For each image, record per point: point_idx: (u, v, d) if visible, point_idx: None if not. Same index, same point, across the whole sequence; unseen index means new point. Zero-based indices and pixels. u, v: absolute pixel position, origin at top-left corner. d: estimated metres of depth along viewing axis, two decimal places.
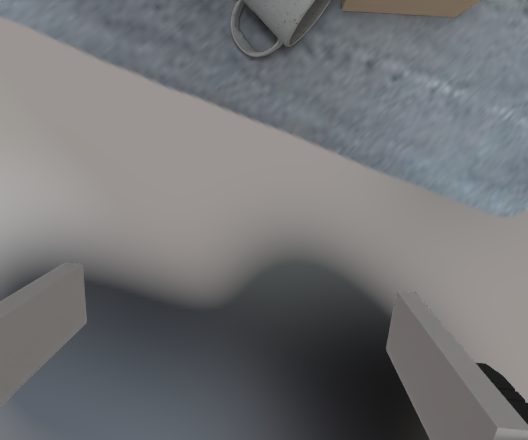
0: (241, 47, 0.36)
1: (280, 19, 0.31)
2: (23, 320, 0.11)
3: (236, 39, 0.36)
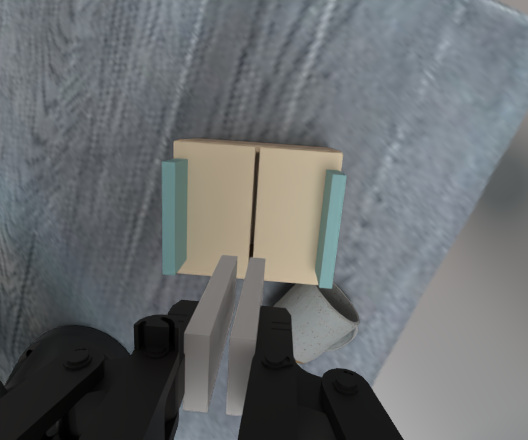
0: (348, 342, 0.41)
1: (347, 333, 0.35)
2: (225, 301, 0.13)
3: (341, 345, 0.41)
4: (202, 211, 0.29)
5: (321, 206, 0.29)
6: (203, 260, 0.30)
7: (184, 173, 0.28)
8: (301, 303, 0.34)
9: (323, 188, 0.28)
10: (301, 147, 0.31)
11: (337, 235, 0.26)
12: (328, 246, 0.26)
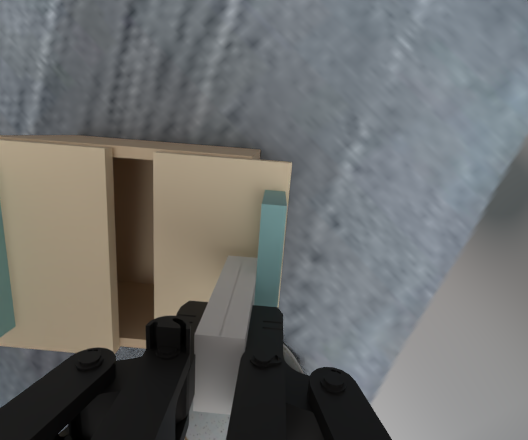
0: None
1: None
2: None
3: None
4: (30, 252, 0.18)
5: None
6: (41, 328, 0.19)
7: None
8: None
9: None
10: (200, 149, 0.20)
11: None
12: None
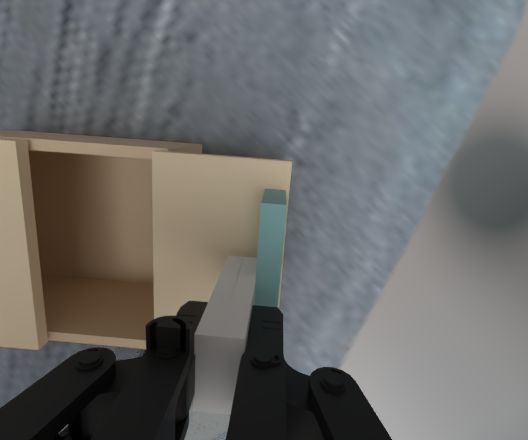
0: None
1: None
2: None
3: None
4: None
5: None
6: None
7: None
8: None
9: None
10: (126, 142, 0.20)
11: None
12: None
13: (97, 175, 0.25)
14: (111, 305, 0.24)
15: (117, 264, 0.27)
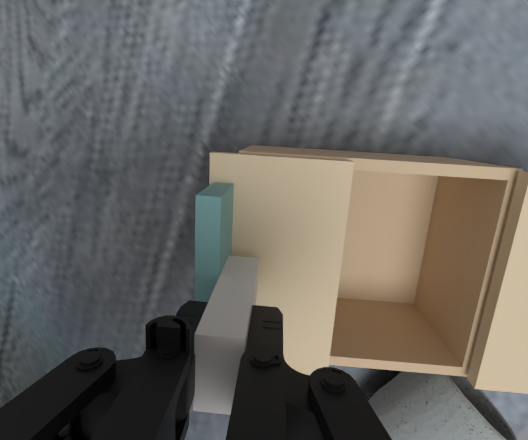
0: None
1: None
2: None
3: None
4: None
5: None
6: None
7: (230, 210, 0.16)
8: (434, 413, 0.23)
9: None
10: (435, 160, 0.19)
11: None
12: None
13: None
14: (366, 326, 0.23)
15: (340, 281, 0.26)
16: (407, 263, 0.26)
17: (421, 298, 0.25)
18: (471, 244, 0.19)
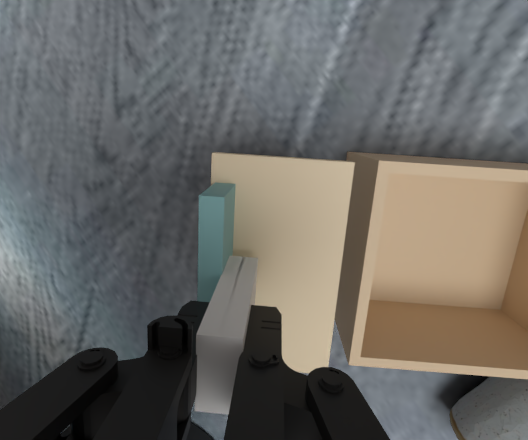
0: None
1: None
2: None
3: None
4: (257, 269, 0.17)
5: None
6: None
7: (232, 210, 0.16)
8: None
9: None
10: None
11: None
12: None
13: (428, 197, 0.25)
14: (467, 332, 0.23)
15: (428, 287, 0.26)
16: (496, 269, 0.26)
17: (511, 304, 0.25)
18: None
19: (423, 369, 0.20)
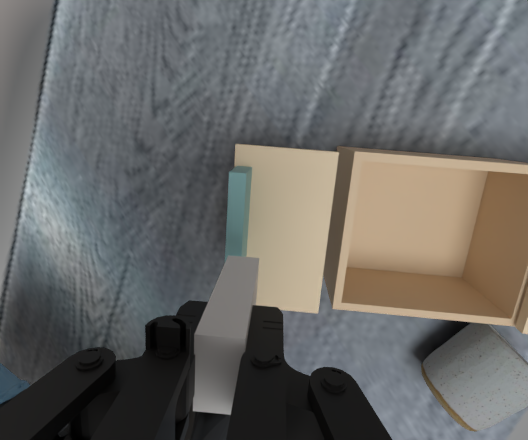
0: None
1: None
2: None
3: None
4: (267, 231, 0.24)
5: None
6: (264, 290, 0.25)
7: (249, 185, 0.22)
8: (487, 364, 0.29)
9: None
10: (496, 161, 0.25)
11: None
12: None
13: (402, 183, 0.31)
14: (429, 291, 0.29)
15: (402, 258, 0.32)
16: (458, 244, 0.32)
17: (469, 272, 0.31)
18: (520, 225, 0.25)
19: (389, 313, 0.26)
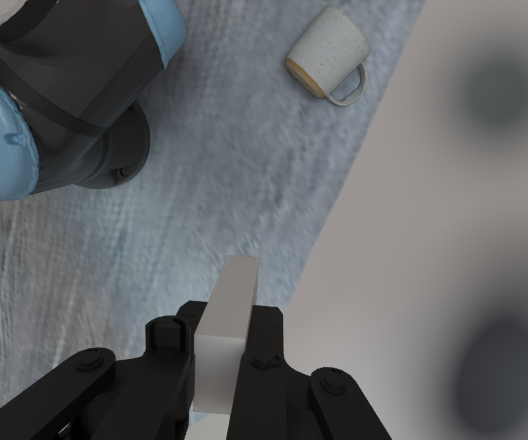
0: (358, 97, 0.45)
1: (359, 54, 0.39)
2: None
3: (352, 101, 0.45)
4: None
5: None
6: None
7: None
8: (319, 22, 0.39)
9: None
10: None
11: None
12: None
13: None
14: None
15: None
16: None
17: None
18: None
19: None
